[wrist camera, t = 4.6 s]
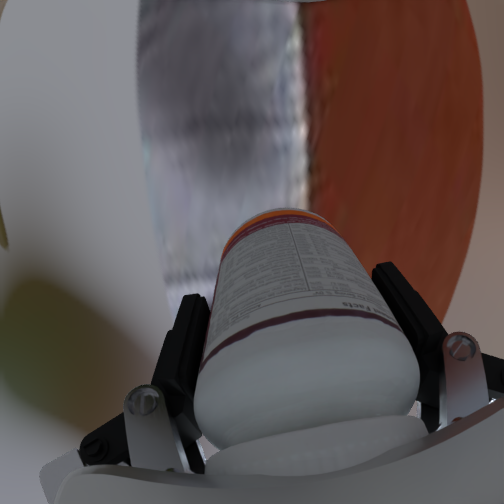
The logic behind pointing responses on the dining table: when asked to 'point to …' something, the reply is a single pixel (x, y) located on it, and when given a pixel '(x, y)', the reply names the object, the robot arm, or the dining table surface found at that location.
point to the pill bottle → (301, 355)
